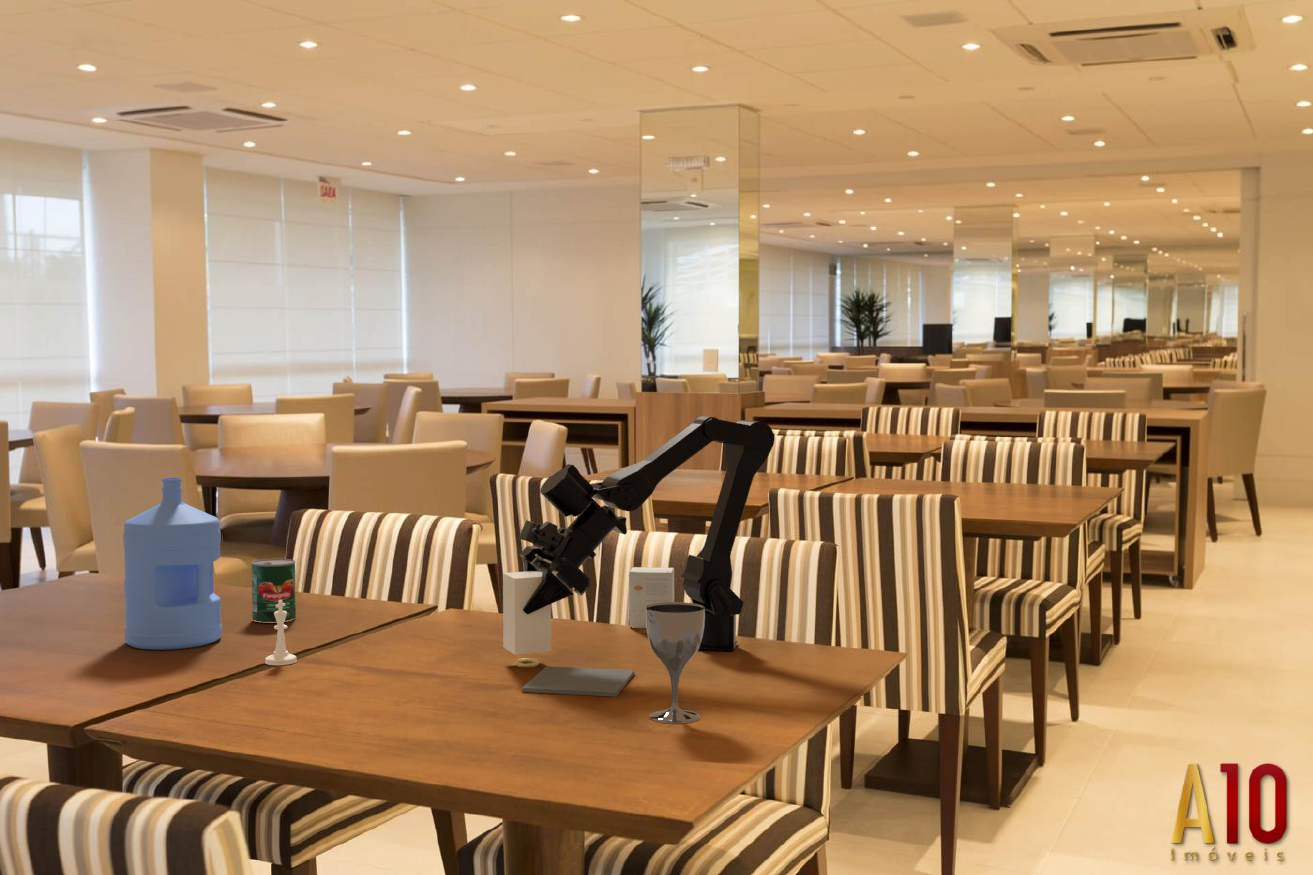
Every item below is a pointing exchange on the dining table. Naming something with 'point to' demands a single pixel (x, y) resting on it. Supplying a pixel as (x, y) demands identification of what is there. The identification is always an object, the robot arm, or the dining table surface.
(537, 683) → the slate mat
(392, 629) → the dining table surface
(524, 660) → the brass button
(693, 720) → the wine glass
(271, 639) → the dining table surface
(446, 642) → the dining table surface
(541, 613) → the white rectangular block
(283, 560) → the canned tomato
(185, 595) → the water jug
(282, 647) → the chess piece
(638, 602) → the small box
